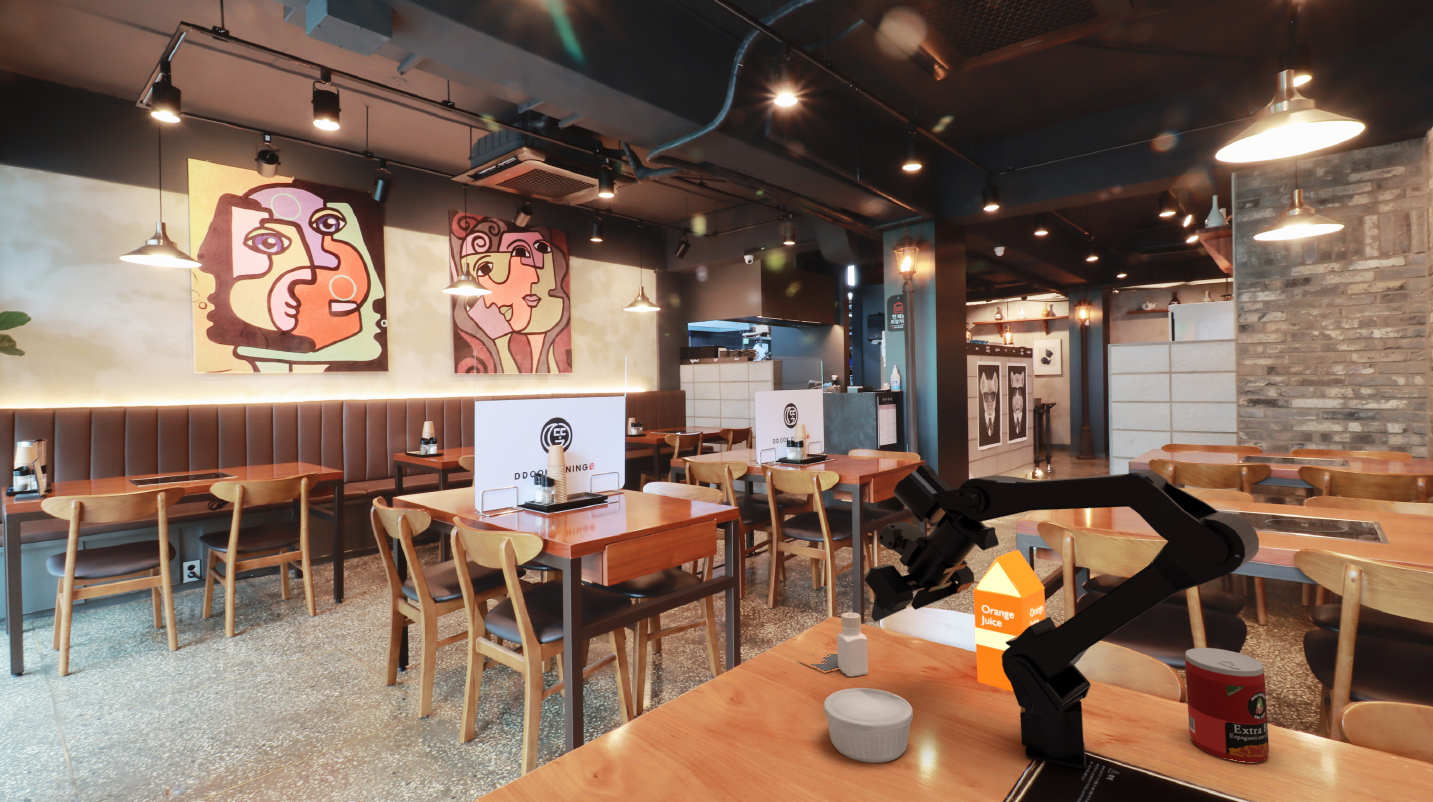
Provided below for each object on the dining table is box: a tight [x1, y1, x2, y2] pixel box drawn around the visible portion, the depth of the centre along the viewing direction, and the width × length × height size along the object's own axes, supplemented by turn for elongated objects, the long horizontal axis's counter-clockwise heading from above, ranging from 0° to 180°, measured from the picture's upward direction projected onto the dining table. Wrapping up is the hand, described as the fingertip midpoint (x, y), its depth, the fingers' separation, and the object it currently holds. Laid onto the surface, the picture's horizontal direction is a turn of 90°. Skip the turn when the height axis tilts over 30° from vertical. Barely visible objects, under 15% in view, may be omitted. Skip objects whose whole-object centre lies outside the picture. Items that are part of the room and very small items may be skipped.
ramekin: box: [823, 687, 914, 764], centre depth 83 cm, size 11×11×5 cm
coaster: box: [811, 654, 838, 671], centre depth 112 cm, size 7×8×1 cm
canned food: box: [1184, 647, 1270, 763], centre depth 80 cm, size 8×8×11 cm
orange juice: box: [973, 549, 1047, 693], centre depth 102 cm, size 8×9×20 cm
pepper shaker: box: [836, 612, 869, 678], centre depth 107 cm, size 4×4×10 cm
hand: (894, 612), depth 99 cm, fingers open, 9 cm apart
